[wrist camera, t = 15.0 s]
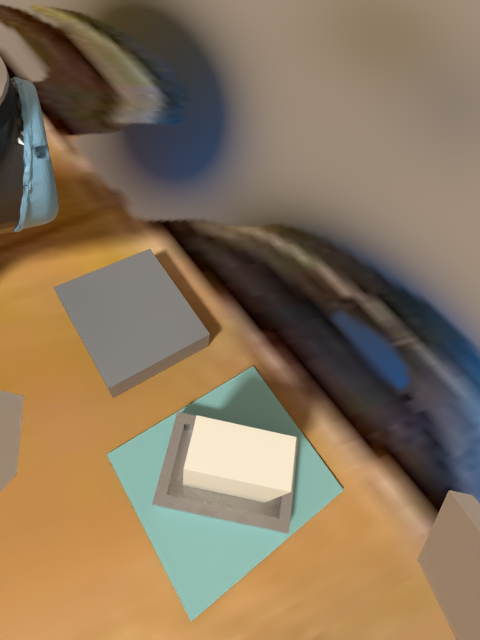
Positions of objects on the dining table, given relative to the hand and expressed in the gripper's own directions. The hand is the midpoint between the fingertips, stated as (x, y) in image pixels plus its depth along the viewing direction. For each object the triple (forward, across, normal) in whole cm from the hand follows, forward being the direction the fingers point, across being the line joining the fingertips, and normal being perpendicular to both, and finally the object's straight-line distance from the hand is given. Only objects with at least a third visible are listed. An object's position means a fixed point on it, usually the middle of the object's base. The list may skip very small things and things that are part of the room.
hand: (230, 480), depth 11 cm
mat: (+23, -2, +17) cm, 28 cm away
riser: (+33, +12, +7) cm, 36 cm away
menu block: (+22, -2, +16) cm, 27 cm away
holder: (+23, -2, +17) cm, 28 cm away
